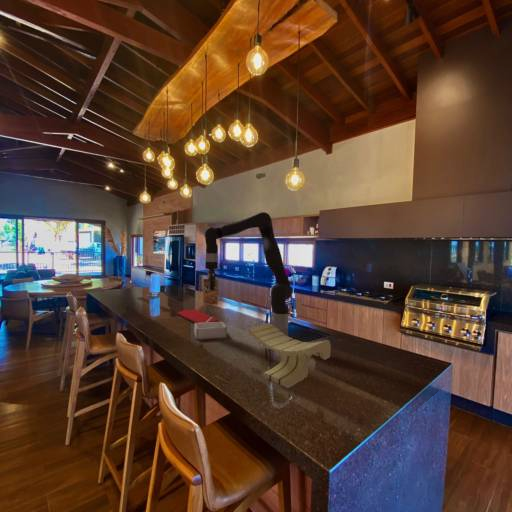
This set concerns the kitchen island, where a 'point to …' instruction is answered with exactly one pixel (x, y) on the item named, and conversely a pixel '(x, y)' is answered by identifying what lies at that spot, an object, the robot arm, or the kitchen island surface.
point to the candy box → (210, 292)
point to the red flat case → (197, 316)
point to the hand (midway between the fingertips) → (211, 289)
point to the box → (210, 330)
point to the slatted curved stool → (288, 354)
